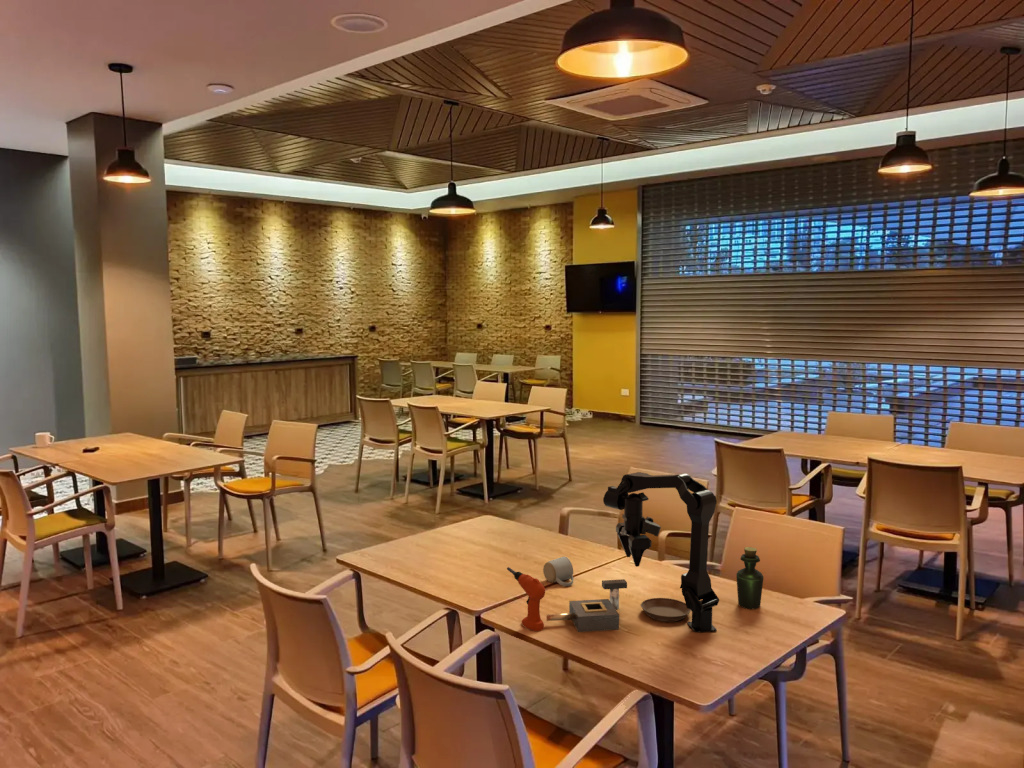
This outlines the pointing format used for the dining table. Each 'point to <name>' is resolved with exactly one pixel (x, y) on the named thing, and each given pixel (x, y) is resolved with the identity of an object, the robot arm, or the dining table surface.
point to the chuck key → (614, 590)
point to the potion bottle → (749, 581)
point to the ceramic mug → (559, 571)
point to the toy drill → (531, 599)
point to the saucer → (665, 609)
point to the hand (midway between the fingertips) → (632, 561)
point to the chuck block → (590, 615)
